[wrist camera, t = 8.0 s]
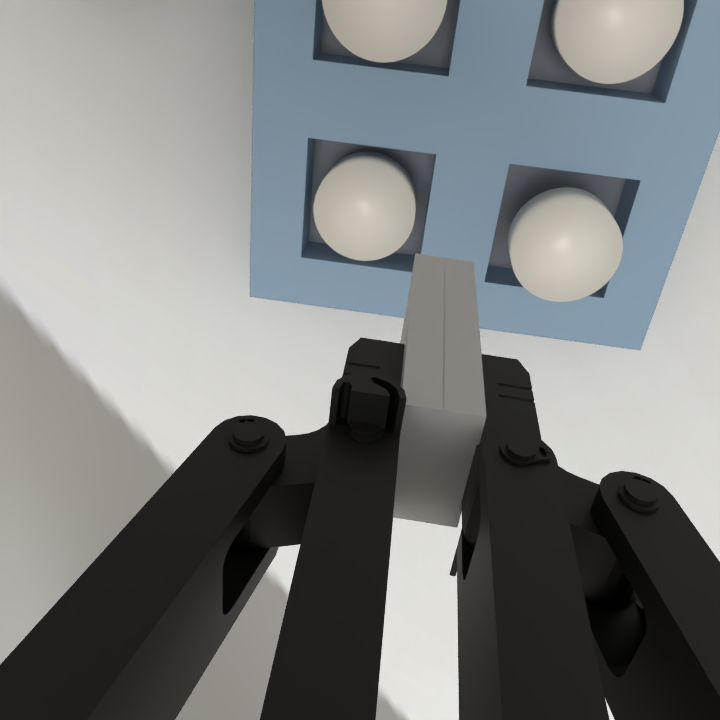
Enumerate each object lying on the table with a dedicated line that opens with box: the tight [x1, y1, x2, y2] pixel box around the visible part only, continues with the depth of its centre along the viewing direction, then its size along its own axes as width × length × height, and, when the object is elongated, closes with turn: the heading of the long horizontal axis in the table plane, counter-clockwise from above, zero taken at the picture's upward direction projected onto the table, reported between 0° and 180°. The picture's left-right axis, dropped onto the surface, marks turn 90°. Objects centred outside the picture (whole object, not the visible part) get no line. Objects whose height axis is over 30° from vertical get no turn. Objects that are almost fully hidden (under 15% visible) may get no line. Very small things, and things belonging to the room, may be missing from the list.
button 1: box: [313, 151, 417, 261], centre depth 36 cm, size 5×5×3 cm
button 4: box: [551, 0, 684, 84], centre depth 31 cm, size 5×5×3 cm
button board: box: [250, 0, 720, 350], centre depth 34 cm, size 22×22×3 cm
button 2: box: [508, 187, 623, 302], centre depth 34 cm, size 5×5×3 cm
